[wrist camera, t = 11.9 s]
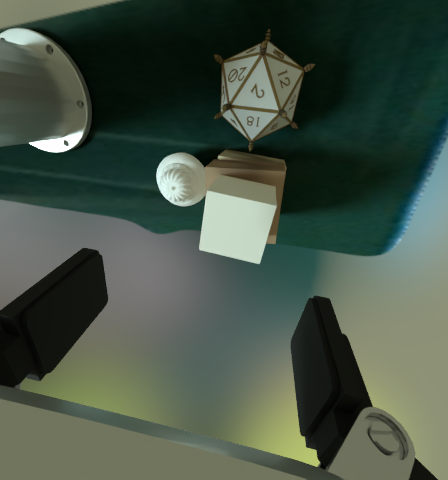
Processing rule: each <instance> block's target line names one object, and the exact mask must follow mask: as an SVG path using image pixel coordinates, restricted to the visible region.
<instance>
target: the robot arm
mask: <svg viewBox="0 0 448 480" xmlns="http://www.w3.org/2000/svg"><path fill="white" fill-rule="evenodd" d="M91 120H92V106H91V99H90V95H89V91H88V88H87V85H86V83H85V80H84V78H83V76H82V74H81V72H80V70H79V68H78V67H77V65H76V64H75V62H74V61H73V60H72V58H71V57H70V56H69V54H68V53H67V52H66V51H65V50H64V49H63V48H62V47H61V46H60V45H58V44H57V43H56V42H55V41H53V40H52V39H51V38H49V37H47V36H45V35H43V34H41V33H38V32H35V31H32V30H30V29H24V28H13V29H8V30H6V31H4V32H2V33H1V34H0V147H1V146H9V145H17V144H25V143H30V144H31V145H33V146H35V147H37V148H39V149H41V150H45V151H48V152H56V153H59V152H66V151H69V150H73V149H75V148H76V147H78V146H80V145H81V143H82V142H83V141H84V140H85V139H86V137H87V135H88V133H89V130H90V126H91ZM107 302H108V294H107V287H106V281H105V273H104V266H103V259H102V255H100V254H99V252H98V251H97V250H93V249H88V248H83V249H81V250H80V251H78V252H77V253H76V254H74V255H73V256H72V257H70V258H69V259H68V260H66V261H65V262H64V263H62V264H61V265H60V266H59V267H57V268H56V269H55V270H53V271H52V272H51V273H49V274H48V275H47V276H45V277H44V278H43V279H41V280H40V281H39V282H37V283H36V284H35V285H33V286H32V287H31V288H29V289H28V290H27V291H25V292H24V293H23V294H22V295H20V296H19V297H17V298H16V299H15V300H14V301H12V302H11V303H10V304H8V305H7V306H6V307H4V308H3V309H2V310H0V480H438V479H437V478H436V477H435V476H434V475H433V474H431V473H430V472H429V471H428V470H427V469H426V468H425V467H424V466H423V465H422V464H421V463H420V462H419V461H418V460H417V459H416V458H415V450H414V446H413V443H412V441H411V439H410V437H409V435H408V433H407V432H406V430H405V429H404V428H403V426H402V425H401V424H400V423H399V422H398V421H397V420H396V419H395V418H394V417H393V416H391V415H390V414H388V413H387V412H386V411H383V410H381V409H379V408H375V407H373V406H372V403H371V400H370V398H369V395H368V392H367V389H366V387H365V384H364V381H363V378H362V376H361V373H360V370H359V367H358V365H357V362H356V359H355V357H354V354H353V351H352V349H351V345H350V343H349V340H348V338H347V336H346V335H345V334H342V333H341V330H340V327H339V324H338V321H337V318H336V315H335V313H334V310H333V307H332V304H331V301H330V299H329V298H325V297H320V296H314V297H313V298H309V299H308V301H307V304H306V306H305V309H304V311H303V313H302V316H301V318H300V320H299V323H298V325H297V327H296V330H295V332H294V335H293V337H292V340H291V354H292V363H293V372H294V381H295V391H296V400H297V409H298V418H299V427H300V433H301V435H302V436H305V441H306V447H307V448H311V449H315V450H317V457H318V460H319V461H320V464H319V465H318V467H315V466H312V465H309V464H306V463H303V462H300V461H297V460H294V459H290V458H287V457H283V456H280V455H276V454H272V453H269V452H265V451H262V450H258V449H254V448H251V447H247V446H243V445H239V444H235V443H232V442H228V441H223V440H220V439H216V438H212V437H208V436H204V435H201V434H197V433H193V432H189V431H185V430H181V429H177V428H173V427H169V426H165V425H161V424H157V423H153V422H149V421H145V420H141V419H138V418H134V417H129V416H125V415H122V414H118V413H114V412H109V411H105V410H102V409H98V408H94V407H90V406H85V405H81V404H77V403H73V402H69V401H65V400H61V399H57V398H53V397H49V396H45V395H41V394H37V393H33V392H28V391H24V390H20V385H21V382H22V381H23V380H24V379H25V377H27V378H29V379H33V380H37V381H41V380H42V378H43V377H44V376H45V375H46V374H47V373H50V372H51V371H53V370H54V368H55V367H56V366H57V365H58V364H59V362H60V361H61V360H62V359H63V357H64V356H65V355H66V354H67V352H68V351H69V350H70V349H71V348H72V346H73V345H74V344H75V343H76V341H77V340H78V339H79V338H80V337H81V335H82V334H83V333H84V332H85V330H86V329H87V328H88V327H89V326H90V324H91V323H92V322H93V321H94V319H95V318H96V317H97V316H98V314H99V313H100V312H101V311H102V310H103V308H104V307H105V306H106V304H107Z"/></svg>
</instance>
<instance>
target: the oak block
mask: <svg viewBox="0 0 448 480" xmlns="http://www.w3.org/2000/svg"><path fill="white" fill-rule="evenodd" d="M218 159H219V160H236V161H254V162H272V163H284V167H285V170H286V169H287V168H286V164H285V161H284V160H282V159H276V158H271V157H266V156H260V155H255V154H249V153H244V152H239V151H233V150H228V149H226V150H225V151H223V152H222V153H221V154H220V155H219V156H218Z"/></svg>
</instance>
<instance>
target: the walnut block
mask: <svg viewBox="0 0 448 480" xmlns="http://www.w3.org/2000/svg"><path fill="white" fill-rule="evenodd" d="M285 174H286V170H285V167H284V163H272V162H254V161H236V160H219V159H214V160H213V161H212V162H210V163H209V164H208V165H207V166H206V167H205V197H206V194H207V190H208V189H209V187H210V186H211V185H212V184H213V183H214V181H215V180H216V179H217V178H218V176H219V175H225V176H229V177H234V178H239V179H243V180H248V181H253V182H257V183H262V184H267V185H271V186H276V201H277V207H276V210H275V214H274V217H273V220H272V224H271V227H270V231H269V234H268V237H267V241H266V243H270V244H275V242H276V236H277V229H278V222H279V215H280V208H281V202H282V195H283V188H284V181H285Z"/></svg>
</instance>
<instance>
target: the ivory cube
mask: <svg viewBox="0 0 448 480" xmlns="http://www.w3.org/2000/svg"><path fill="white" fill-rule="evenodd" d="M276 207H277V201H276V186H271V185H267V184H262V183H257V182H253V181H248V180H243V179H239V178H234V177H229V176H225V175H219V176H218V178H217V179H216V180H215V181H214V183H213V184H212V185H211V186H210V187H209V189H208V190H207V194H206V201H205V209H204V216H203V223H202V231H201V238H200V246H199V250H202V251H207V252H211V253H215V254H219V255H223V256H228V257H232V258H236V259H240V260H245V261H249V262H253V263H257V264H260V261H261V258H262V254H263V251H264V247H265V244H266V241H267V237H268V234H269V231H270V227H271V224H272V220H273V217H274V214H275V210H276Z"/></svg>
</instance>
